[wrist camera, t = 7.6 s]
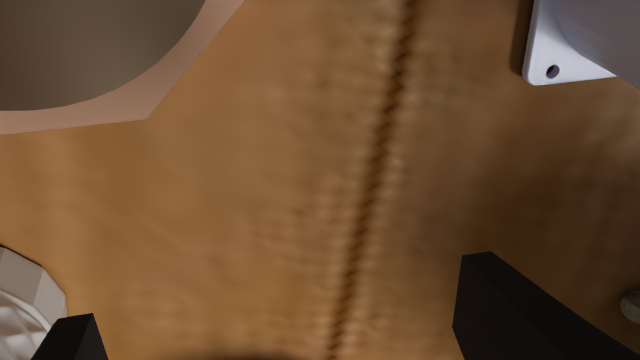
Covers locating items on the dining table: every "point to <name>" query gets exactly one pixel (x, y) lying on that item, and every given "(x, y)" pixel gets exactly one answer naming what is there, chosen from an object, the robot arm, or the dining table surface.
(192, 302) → the dining table surface
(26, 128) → the bowl
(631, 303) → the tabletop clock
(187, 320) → the dining table surface
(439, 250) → the dining table surface
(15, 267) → the white cup
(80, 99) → the lid
